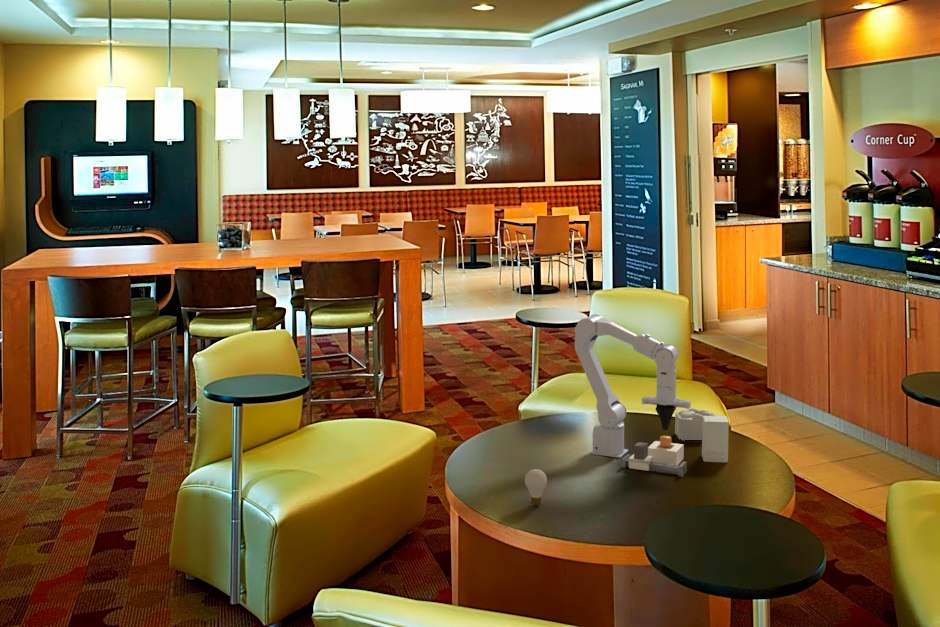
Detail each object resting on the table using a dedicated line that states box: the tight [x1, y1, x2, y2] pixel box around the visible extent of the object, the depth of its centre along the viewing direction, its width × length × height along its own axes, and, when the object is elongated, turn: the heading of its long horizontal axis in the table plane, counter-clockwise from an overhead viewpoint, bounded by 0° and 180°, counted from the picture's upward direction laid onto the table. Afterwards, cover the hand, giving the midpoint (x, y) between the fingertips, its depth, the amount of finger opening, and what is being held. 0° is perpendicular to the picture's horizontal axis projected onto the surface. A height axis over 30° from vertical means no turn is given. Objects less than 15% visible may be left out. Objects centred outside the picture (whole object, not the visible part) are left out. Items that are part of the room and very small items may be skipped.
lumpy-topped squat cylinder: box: [674, 407, 717, 441], centre depth 291 cm, size 10×13×9 cm
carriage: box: [628, 441, 653, 472], centre depth 260 cm, size 6×5×7 cm
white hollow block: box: [648, 440, 685, 465], centre depth 267 cm, size 9×8×4 cm
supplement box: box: [701, 415, 730, 463], centre depth 267 cm, size 7×7×13 cm
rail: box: [621, 453, 688, 478], centre depth 259 cm, size 18×5×3 cm, turn 61°
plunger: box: [659, 435, 672, 449], centre depth 266 cm, size 3×3×5 cm
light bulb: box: [524, 468, 548, 507], centre depth 232 cm, size 6×6×10 cm
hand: (665, 429), depth 266 cm, fingers closed
